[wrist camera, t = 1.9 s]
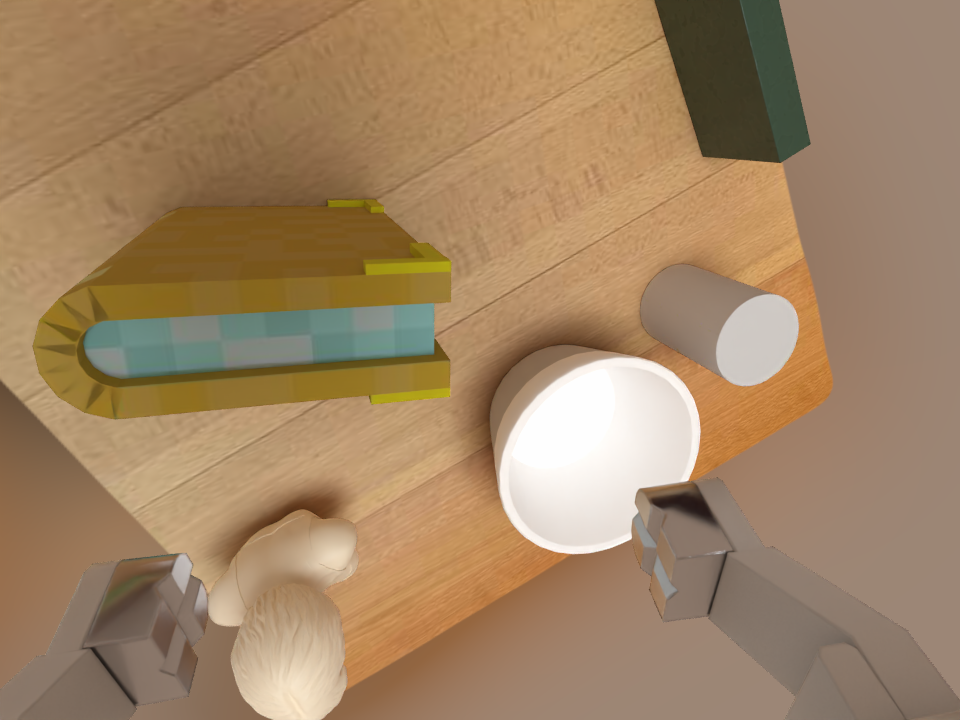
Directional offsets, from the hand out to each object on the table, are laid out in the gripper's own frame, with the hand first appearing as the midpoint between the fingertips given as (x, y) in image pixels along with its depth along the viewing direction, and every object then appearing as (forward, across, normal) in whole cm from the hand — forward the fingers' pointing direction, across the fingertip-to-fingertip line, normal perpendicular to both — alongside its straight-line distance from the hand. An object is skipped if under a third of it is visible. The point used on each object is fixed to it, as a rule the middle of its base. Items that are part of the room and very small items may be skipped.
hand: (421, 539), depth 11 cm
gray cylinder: (+44, -26, +23) cm, 56 cm away
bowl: (+40, -12, +32) cm, 52 cm away
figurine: (+33, +14, +38) cm, 52 cm away
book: (+40, +11, +11) cm, 43 cm away
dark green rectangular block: (+49, -26, +1) cm, 55 cm away
